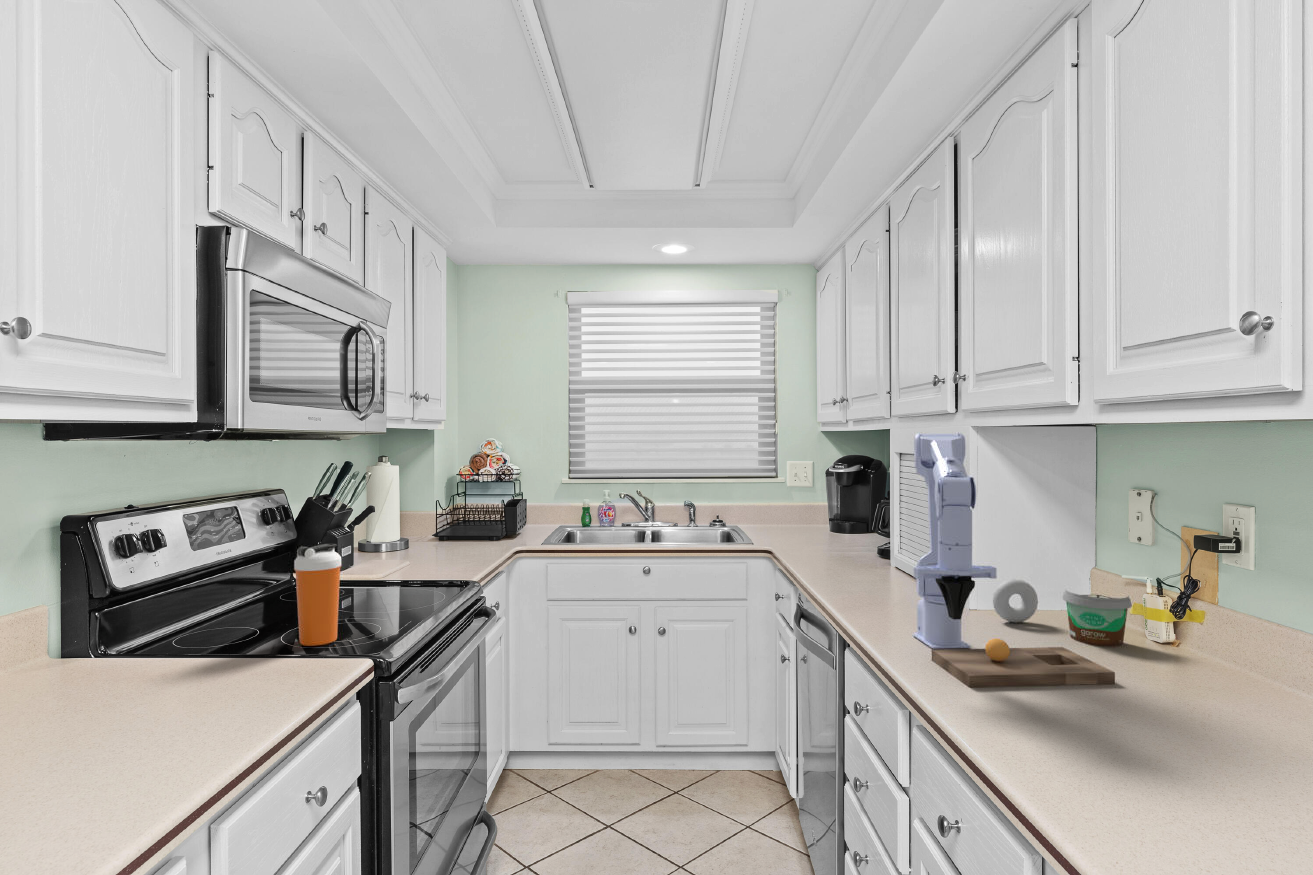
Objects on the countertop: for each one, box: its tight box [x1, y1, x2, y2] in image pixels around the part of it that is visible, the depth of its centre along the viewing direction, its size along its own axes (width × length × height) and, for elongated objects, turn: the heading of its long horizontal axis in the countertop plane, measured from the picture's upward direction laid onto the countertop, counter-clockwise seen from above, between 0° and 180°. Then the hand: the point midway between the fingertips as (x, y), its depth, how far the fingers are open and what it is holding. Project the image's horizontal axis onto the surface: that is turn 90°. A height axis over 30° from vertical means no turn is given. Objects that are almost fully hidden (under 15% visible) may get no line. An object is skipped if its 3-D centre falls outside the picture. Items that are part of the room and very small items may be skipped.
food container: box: [1062, 589, 1132, 648], centre depth 141 cm, size 12×6×10 cm, turn 62°
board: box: [931, 646, 1116, 688], centre depth 125 cm, size 14×26×2 cm, turn 93°
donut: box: [992, 578, 1039, 624], centre depth 156 cm, size 10×4×10 cm, turn 89°
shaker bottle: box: [293, 543, 342, 647], centre depth 144 cm, size 9×9×20 cm
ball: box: [984, 638, 1010, 661], centre depth 124 cm, size 4×4×4 cm
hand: (954, 617), depth 124 cm, fingers closed
